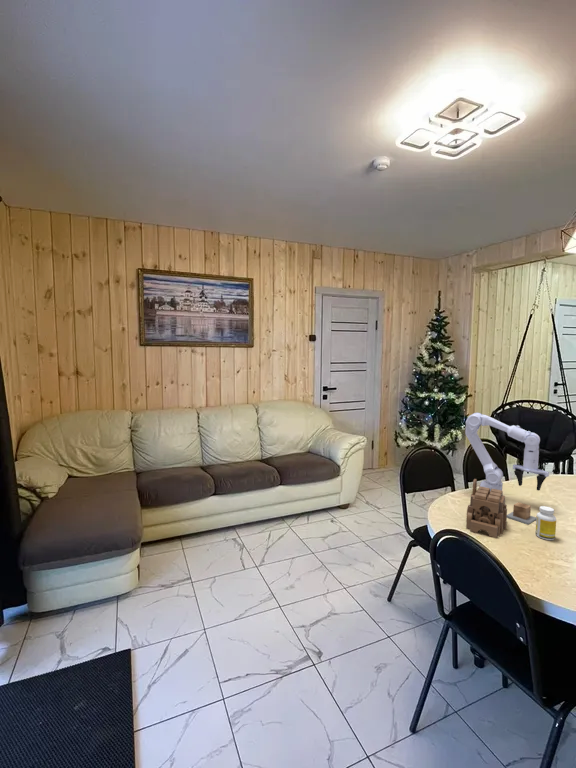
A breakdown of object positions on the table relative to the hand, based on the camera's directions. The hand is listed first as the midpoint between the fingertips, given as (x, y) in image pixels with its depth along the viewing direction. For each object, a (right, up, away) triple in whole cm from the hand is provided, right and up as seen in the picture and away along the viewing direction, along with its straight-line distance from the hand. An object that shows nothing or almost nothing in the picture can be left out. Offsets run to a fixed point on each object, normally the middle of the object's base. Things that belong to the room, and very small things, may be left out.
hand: (529, 487), depth 177 cm
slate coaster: (-10, -11, -11) cm, 18 cm away
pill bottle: (-11, -12, -28) cm, 32 cm away
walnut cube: (-10, -10, -10) cm, 17 cm away
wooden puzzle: (-29, -11, -17) cm, 36 cm away
